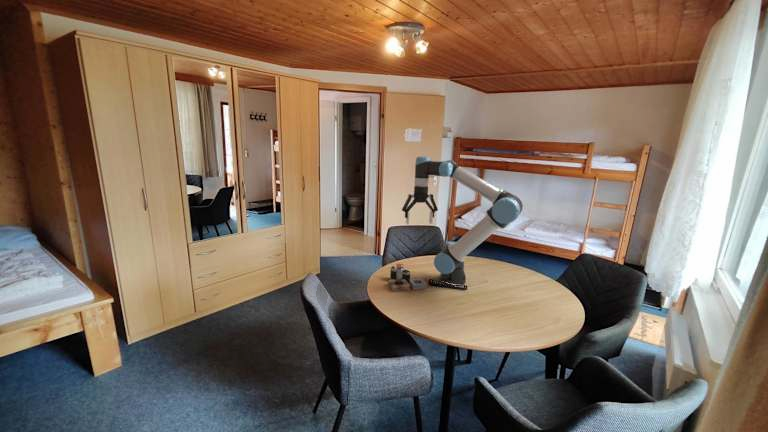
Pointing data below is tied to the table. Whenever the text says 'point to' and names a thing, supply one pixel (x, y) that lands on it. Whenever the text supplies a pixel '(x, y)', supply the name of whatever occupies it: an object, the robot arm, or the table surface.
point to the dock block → (399, 286)
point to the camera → (404, 275)
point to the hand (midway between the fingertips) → (419, 223)
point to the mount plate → (417, 284)
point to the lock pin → (399, 274)
